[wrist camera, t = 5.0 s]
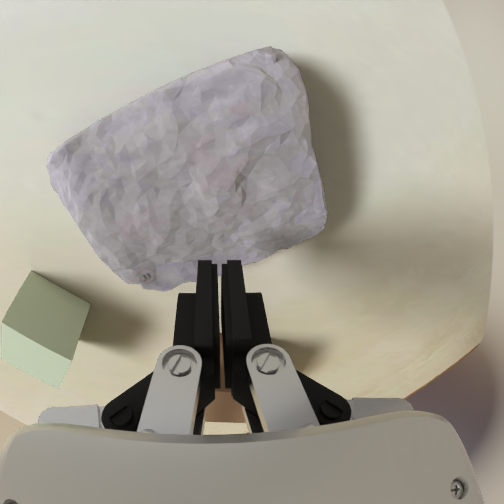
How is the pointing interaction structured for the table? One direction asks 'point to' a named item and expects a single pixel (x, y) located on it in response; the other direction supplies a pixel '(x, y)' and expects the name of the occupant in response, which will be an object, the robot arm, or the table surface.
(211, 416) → the walnut block
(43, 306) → the sage block
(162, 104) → the stone block
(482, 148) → the table surface
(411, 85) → the table surface
